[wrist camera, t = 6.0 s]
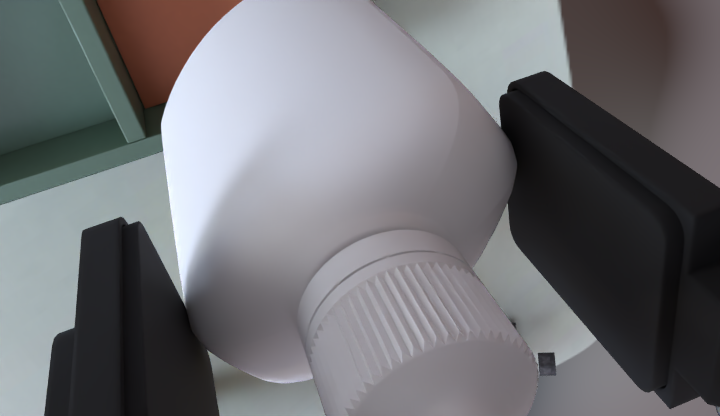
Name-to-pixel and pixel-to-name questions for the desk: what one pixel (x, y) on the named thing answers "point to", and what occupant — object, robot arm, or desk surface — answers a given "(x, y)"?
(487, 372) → the eye dropper bottle
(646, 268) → the robot arm
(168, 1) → the rack
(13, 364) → the desk surface
